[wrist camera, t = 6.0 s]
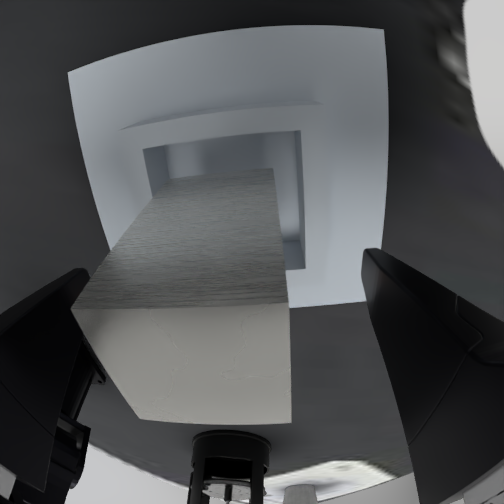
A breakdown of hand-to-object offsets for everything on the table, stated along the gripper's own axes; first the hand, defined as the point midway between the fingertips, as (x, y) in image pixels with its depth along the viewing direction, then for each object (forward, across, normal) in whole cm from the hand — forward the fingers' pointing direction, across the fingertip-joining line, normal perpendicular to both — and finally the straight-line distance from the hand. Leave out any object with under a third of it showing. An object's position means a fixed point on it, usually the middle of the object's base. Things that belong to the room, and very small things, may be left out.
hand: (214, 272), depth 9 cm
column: (+4, 0, 0) cm, 4 cm away
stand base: (+8, 0, 0) cm, 8 cm away
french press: (+8, +5, +31) cm, 32 cm away
